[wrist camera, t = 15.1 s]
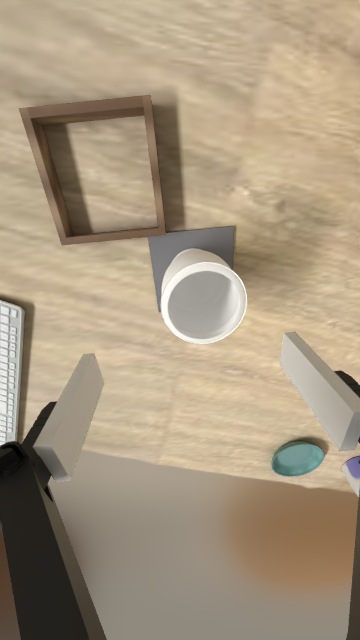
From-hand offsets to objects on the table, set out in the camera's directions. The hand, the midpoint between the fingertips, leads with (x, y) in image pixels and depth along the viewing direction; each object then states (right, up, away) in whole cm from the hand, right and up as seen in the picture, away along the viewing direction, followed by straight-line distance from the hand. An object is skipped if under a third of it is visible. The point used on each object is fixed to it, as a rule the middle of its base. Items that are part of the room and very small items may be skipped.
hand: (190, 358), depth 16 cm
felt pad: (+2, +11, +25) cm, 27 cm away
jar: (+1, +11, +24) cm, 27 cm away
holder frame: (-12, +23, +18) cm, 32 cm away
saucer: (+32, -36, +51) cm, 70 cm away
